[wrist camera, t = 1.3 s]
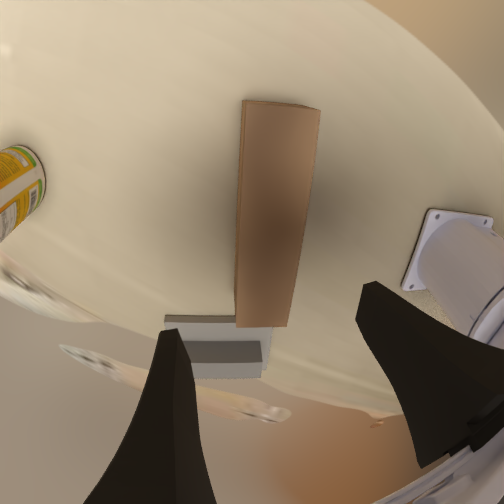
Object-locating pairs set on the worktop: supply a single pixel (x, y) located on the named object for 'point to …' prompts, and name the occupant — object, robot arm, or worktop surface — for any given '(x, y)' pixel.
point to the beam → (271, 208)
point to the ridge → (222, 346)
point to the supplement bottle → (18, 187)
